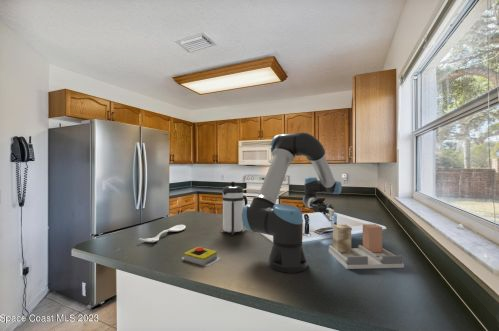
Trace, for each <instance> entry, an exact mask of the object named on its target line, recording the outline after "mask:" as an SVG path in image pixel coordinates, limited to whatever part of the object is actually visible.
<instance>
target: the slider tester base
mask: <svg viewBox="0 0 499 331" xmlns="http://www.w3.org/2000/svg"><path fill="white" fill-rule="evenodd" d="M328 253H329V254H330V255H331V256H333V257H334V258H335V259H336V261H338V262H339V263H340V264H341V265H342V266H343V267H344V268H345V269H346V270H351V269H352V270H354V269H357V270H359V269H364V270H365V269H398V268H399V269H401V268H405V264H404V263H403V255H396V254H394V253H392V252H390V251H388V250H387V249H385V248H384V247H382V252H371V251H369V250H368V249H366V248H365V247H363V245H361V244H358V246H357V247H355V248H354V247H353V248H352V247H351V253H339V252H338V251H337V250H336V249H335V248H334V247H333V245H328Z"/></svg>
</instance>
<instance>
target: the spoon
mask: <svg viewBox="0 0 499 331" xmlns="http://www.w3.org/2000/svg"><path fill="white" fill-rule="evenodd" d="M185 229H186V225H185V224H177V225H174V226H172V227H170V228H168V229H164V230H162V231H161V232H159V233H158V234H157V235H155V237H149V238H141V237H140V238H138V241H139V242H140V241H141V242H145V243H155V242H158V241H159V240H160V237H161V236H162V235H163V234H165V233H168V232H173V233H178V232H181V231H183V230H185Z"/></svg>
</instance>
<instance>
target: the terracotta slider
mask: <svg viewBox="0 0 499 331" xmlns="http://www.w3.org/2000/svg"><path fill="white" fill-rule="evenodd" d="M362 246H363V247H365V248H366V249H368V250H369V251H371V252H382V248H383V227H382V226H380V225H378V224H376V223H373V224H372V223H370V224H362Z"/></svg>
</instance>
